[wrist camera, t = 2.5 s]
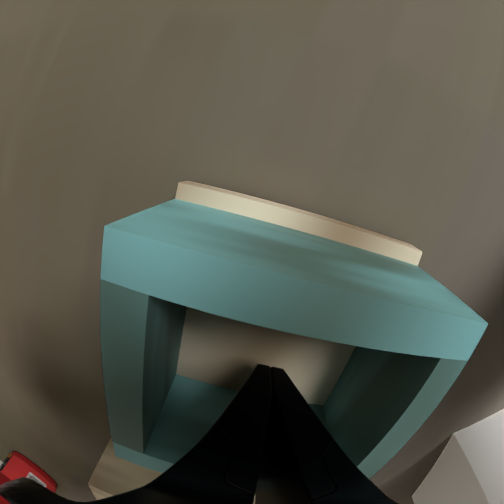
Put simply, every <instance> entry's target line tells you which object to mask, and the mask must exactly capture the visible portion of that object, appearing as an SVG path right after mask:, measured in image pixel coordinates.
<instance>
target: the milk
mask: <svg viewBox="0 0 504 504" xmlns="http://www.w3.org/2000/svg"><path fill="white" fill-rule="evenodd" d="M411 497H412V499H413V502H414V504H504V409H502V410H500V411H498V412H497V413H495V414H493V415H491V416H489V417H487V418H485V419H483V420H481V421H479V422H477V423H475V424H473V425H470V426H468V427H466V428H464V429H461V430H459V431H457V432H454V433H453V434H452V436H451V438H450V440H449V441H448V443H447V445H446V446H445V448H444V450H443V451H442V453H441V455H440V456H439V458H438V459H437V461H436V463H435V464H434V466H433V467H432V469H431V470H430V472H429V473H428V474H427V476H426V477H425V479H424V480H423V482H422V483H421V484H420V486H419V487H418V488H417V490H416V491H415V492H414V494H413V495H412V496H411Z"/></svg>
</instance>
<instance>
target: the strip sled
mask: <svg viewBox="0 0 504 504" xmlns="http://www.w3.org/2000/svg"><path fill="white" fill-rule="evenodd" d="M422 253H423V252H422V251H420V250H419V249H417V248H416V247H414V246H412V245H411V244H408V243H405V242H403V241H400V240H397V239H394V238H391V237H388V236H385V235H382V234H379V233H376V232H373V231H370V230H367V229H363V228H360V227H357V226H354V225H351V224H348V223H344V222H341V221H338V220H335V219H331V218H328V217H325V216H321V215H318V214H314V213H311V212H308V211H304V210H301V209H297V208H294V207H290V206H286V205H283V204H279V203H275V202H272V201H268V200H264V199H260V198H257V197H253V196H249V195H245V194H241V193H237V192H233V191H229V190H225V189H221V188H217V187H213V186H208V185H204V184H200V183H196V182H191V181H183V182H179V183H178V188H177V192H176V197H175V199H173V200H170V201H168V202H165V203H162V204H159V205H157V206H154V207H151V208H149V209H146V210H143V211H141V212H138V213H135V214H133V215H130V216H128V217H125V218H123V219H120V220H118V221H115V222H113V223H110V224H108V225H106V226H104V236H103V247H102V262H101V283H100V334H101V355H102V369H103V380H104V390H105V398H106V406H107V413H108V420H109V426H110V432H111V439H110V440H109V442H108V444H107V446H106V448H105V450H104V452H103V454H102V456H101V458H100V460H99V462H98V464H97V466H96V468H95V470H94V472H93V474H92V476H91V478H90V480H89V482H88V485H89V487H90V489H91V491H92V493H93V495H94V496H95V498H96V500H99V499H103V498H107V497H111V496H114V495H118V494H121V493H124V492H127V491H131V490H134V489H137V488H140V487H142V486H144V485H146V484H148V483H150V482H151V481H153V480H154V479H156V478H157V477H158V476H160V475H161V474H162V473H164V472H165V471H166V470H167V469H169V468H170V467H171V466H172V465H173V464H175V463H176V462H177V461H178V460H179V459H181V458H182V457H183V456H184V455H185V454H187V453H188V452H189V451H190V450H191V449H192V448H193V447H194V446H195V445H196V444H197V443H198V442H199V441H200V440H201V439H202V438H203V437H204V435H205V434H206V433H207V432H208V431H209V429H210V428H211V427H212V426H213V424H214V423H215V422H216V421H217V419H218V418H219V417H220V415H221V414H222V413H223V411H224V410H225V409H226V407H227V406H228V405H229V403H230V402H231V400H232V399H233V398H234V396H235V395H236V394H237V392H238V391H239V389H240V388H241V387H242V385H243V384H244V382H245V381H246V380H247V378H248V377H249V375H250V374H251V373H252V371H253V370H254V368H255V367H256V365H257V364H263V365H268V366H270V368H271V367H278V368H282V369H284V370H285V372H286V373H287V375H288V376H289V377H290V379H291V380H292V382H293V383H294V385H295V386H296V387H297V389H298V390H299V392H300V393H301V394H302V396H303V397H304V399H305V400H306V401H307V403H308V404H309V406H310V407H311V408H312V410H313V411H314V412H315V414H316V415H317V417H318V418H319V419H320V421H321V422H322V423H323V425H324V426H325V427H326V429H327V430H328V432H329V433H330V434H331V436H332V437H333V438H334V441H336V442H337V443H338V445H339V446H340V447H341V449H342V450H343V451H344V452H345V454H346V455H347V456H348V457H349V459H350V460H351V461H352V462H353V463H354V464H355V465H356V466H357V467H358V468H359V470H360V471H361V472H362V473H363V474H364V475H365V476H366V477H367V478H368V479H370V478H371V477H372V476H374V475H375V474H376V473H377V472H378V471H379V470H380V469H381V468H382V467H383V466H384V465H385V464H386V463H387V462H388V461H389V460H390V459H391V458H392V457H393V456H394V455H395V454H396V453H397V452H398V451H399V450H400V449H401V448H402V447H403V446H404V445H405V444H406V443H407V441H408V440H409V439H410V438H411V437H412V436H413V435H414V434H415V432H416V431H417V430H418V429H419V428H420V427H421V425H422V424H423V423H424V422H425V421H426V419H427V418H428V417H429V416H430V414H431V413H432V412H433V411H434V409H435V408H436V407H437V405H438V404H439V403H440V401H441V400H442V399H443V397H444V396H445V395H446V393H447V392H448V390H449V389H450V387H451V386H452V385H453V383H454V382H455V380H456V379H457V377H458V376H459V374H460V373H461V371H462V369H463V368H464V366H465V365H466V363H467V361H468V360H469V358H470V356H471V355H472V353H473V351H474V350H475V348H476V346H477V344H478V342H479V341H480V339H481V337H482V335H483V333H484V331H485V329H486V327H487V325H488V323H487V322H486V321H485V320H484V319H482V318H481V317H480V316H479V315H478V314H477V313H476V312H474V311H473V310H472V309H471V308H470V307H468V306H467V305H466V304H465V303H464V302H463V301H461V300H460V299H459V298H458V297H456V296H455V295H454V294H453V293H452V292H450V291H449V290H448V289H447V288H445V287H444V286H443V285H442V284H440V283H439V282H438V281H436V280H435V279H434V278H433V277H431V276H430V275H429V274H427V273H426V272H425V271H424V270H422V269H421V268H420V267H418V264H419V261H420V258H421V256H422ZM253 504H255V496H254V502H253Z"/></svg>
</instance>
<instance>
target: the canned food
mask: <svg viewBox="0 0 504 504" xmlns="http://www.w3.org/2000/svg"><path fill="white" fill-rule="evenodd" d="M21 477H26V478H29V479H32V480H34V481H35V482H37V483H39V484H41V485H42V486H44V487H46V488H47V489H49V490H51V491H52V492H54V493H55V491H56V488H57V484H56V482H55V481H54V480H53V479H52V478H51V477H50V476H49V475H48V474H47V473H46V472H44V471H43V470H42V469H41V468H40V467H38V466H37V465H36V464H34V463H33V462H32V461H30V460H29V459H28V458H26V457H25V456H23V455H22V454H20V453H18V452H16V451H13V452H11V453H10V454H9V455H8V456H7V458H6V459H5V461H4V462H3V464H2V465H1V466H0V485H1V484H3V483H5V482H8V481H12V480H15V479H18V478H21ZM0 504H10V503H9V502H8V501H7V500H6V499H4V498H3V497H2V496H1V495H0Z"/></svg>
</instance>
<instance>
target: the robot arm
mask: <svg viewBox="0 0 504 504" xmlns="http://www.w3.org/2000/svg"><path fill="white" fill-rule="evenodd" d="M0 495H1V496H2V497H3V498H4V499H6V500H7V501H8V502H9V503H10V504H253V502H254V496H255V504H398V503H396V502H394V501H393V500H391V499H390V498H388V497H387V496H386V495H385V494H384V493H383V492H382V491H381V490H380V489H379V488H378V487H377V486H375V485H374V484H373V483H372V482H371V481H370V480H369V479H368V478H367V477H366V476H365V475H364V474H363V473H362V472H361V471H360V470H359V468H358V467H357V466H356V465H355V464H354V463H353V462H352V461H351V460H350V459H349V457H348V456H347V455H346V454H345V452H344V451H343V450H342V449H341V447H340V446H339V445H338V443H337V442H336V441H334V438H333V437H332V436H331V434H330V433H329V432H328V430H327V429H326V427H325V426H324V425H323V423H322V422H321V421H320V419H319V418H318V417H317V415H316V414H315V412H314V411H313V410H312V408H311V407H310V406H309V404H308V403H307V401H306V400H305V399H304V397H303V396H302V394H301V393H300V392H299V390H298V389H297V387H296V386H295V385H294V383H293V382H292V380H291V379H290V377H289V376H288V375H287V373H286V372H285V370H284V369H282V368H278V367H271V368H270V366H268V365H263V364H257V365H256V367H255V368H254V370H253V371H252V373H251V374H250V375H249V377H248V378H247V380H246V381H245V382H244V384H243V385H242V387H241V388H240V389H239V391H238V392H237V394H236V395H235V396H234V398H233V399H232V400H231V402H230V403H229V405H228V406H227V407H226V409H225V410H224V411H223V413H222V414H221V415H220V417H219V418H218V419H217V421H216V422H215V423H214V424H213V426H212V427H211V428H210V429H209V431H208V432H207V433H206V434H205V435H204V437H203V438H202V439H201V440H200V441H199V442H198V443H197V444H196V445H195V446H194V447H193V448H192V449H191V450H190V451H189V452H188V453H187V454H185V455H184V456H183V457H182V458H181V459H179V460H178V461H177V462H176V463H175V464H173V465H172V466H171V467H170V468H169V469H167V470H166V471H165V472H164V473H162V474H161V475H160V476H158V477H157V478H156V479H154V480H153V481H151V482H150V483H148V484H146V485H144V486H142V487H140V488H137V489H134V490H131V491H127V492H124V493H121V494H118V495H114V496H111V497H107V498H103V499H99V500H95V501H91V502H76V501H72V500H68V499H66V498H63V497H61V496H59V495H57V494H56V493H54V492H52V491H51V490H49V489H47V488H46V487H44V486H42V485H41V484H39V483H37V482H35V481H34V480H32V479H29V478H26V477H21V478H18V479H15V480H12V481H8V482H5V483H3V484H1V485H0Z"/></svg>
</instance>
